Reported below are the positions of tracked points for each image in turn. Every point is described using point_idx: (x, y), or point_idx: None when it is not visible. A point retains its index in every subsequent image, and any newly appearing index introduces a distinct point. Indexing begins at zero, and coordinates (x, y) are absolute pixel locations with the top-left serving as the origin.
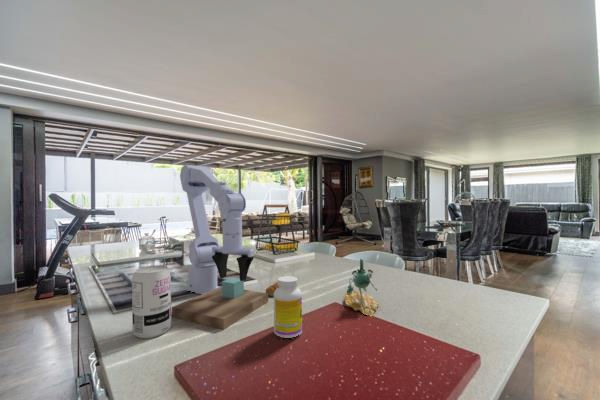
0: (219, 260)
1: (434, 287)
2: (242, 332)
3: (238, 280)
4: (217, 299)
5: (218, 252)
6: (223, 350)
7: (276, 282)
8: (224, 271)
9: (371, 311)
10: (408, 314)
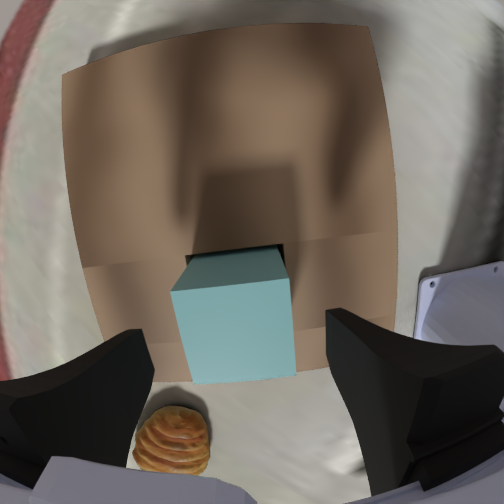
0: (391, 388)
1: None
2: (29, 116)
3: (200, 354)
4: (260, 199)
5: (469, 464)
6: (25, 37)
7: (189, 468)
8: (337, 364)
9: None
10: None
